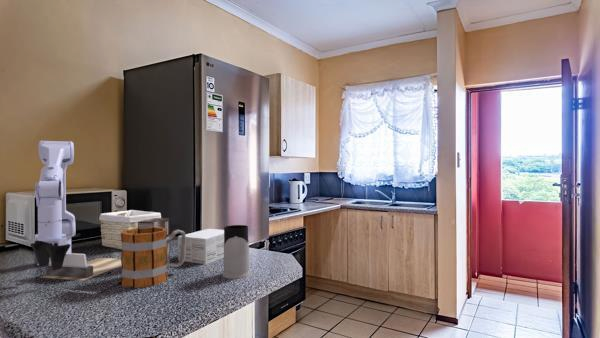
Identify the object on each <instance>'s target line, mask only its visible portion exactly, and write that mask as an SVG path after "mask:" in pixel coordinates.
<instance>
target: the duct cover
mask: <svg viewBox="0 0 600 338" xmlns="http://www.w3.org/2000/svg"><path fill="white" fill-rule="evenodd" d="M87 262H88V260H87V256H86V254H85V253H76V252H75V253H74V252H71V253H66V255H65V258H64V262H63V265H62V267H76V268H87V267H88V266H87ZM48 266H52V265H51V258H50V261H49V265H48Z"/></svg>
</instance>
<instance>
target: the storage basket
mask: <svg viewBox="0 0 600 338" xmlns="http://www.w3.org/2000/svg"><path fill="white" fill-rule="evenodd" d="M98 218H99V222H100V232H101V234H100V235H101V242H102V243H101V246H103V247H106V248H107V247H108V248H111V249H117V250H121V251H122V240H121V233H122V231H124V230H130V229H135V228H138V222H140V221H144V220H148V219H153V218H162V214H161V212H155V211H144V210H137V209H135V210H134V209H129V210H121V211H113V212H112V211H111V212H104V213H100V215H99V217H98Z"/></svg>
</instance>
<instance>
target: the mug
mask: <svg viewBox="0 0 600 338" xmlns="http://www.w3.org/2000/svg"><path fill="white" fill-rule="evenodd" d="M166 234H167V228H161V227H147V228H135V229H130V230H124V231H122V233H121V240H122V250H121V254H120V259H121V264H122V266H121V282H120V286H122V287H126V288H131V289H137V288H139V289H140V288H146V287H154V286H157V285H159V284H161V283H165V282H167V281H168V276H169V275H168V269H167V267H168V268H169V267H171V268H174V267H175V268H178V267H180V266H182V265H183V264H184V262H185V261H184V260H185V253H186V232H185V231H184V230H180V229H175V230H173V231H172V232H171V233H169V236H168V237H166ZM177 234H181V235H180V236H182V243H181V258H180V261H178V262H177V263H174V262H170V263H166V262H167V244H166V241H169V242H170V241H171V240H173V238H174V237H175V236H176V235H177Z"/></svg>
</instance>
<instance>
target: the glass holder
mask: <svg viewBox="0 0 600 338" xmlns="http://www.w3.org/2000/svg"><path fill="white" fill-rule="evenodd" d="M223 230H224V257H223V272H222V277H223V278H226V279H229V280H231V279H233V280H235V279H244V278H247V277H249V276H251V274H252V273H251V271H250V245H249V244H250V243H249V242H250V241H249V226H248V225H244V224H233V225H232V224H231V225H225V226H224V227H223Z"/></svg>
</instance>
